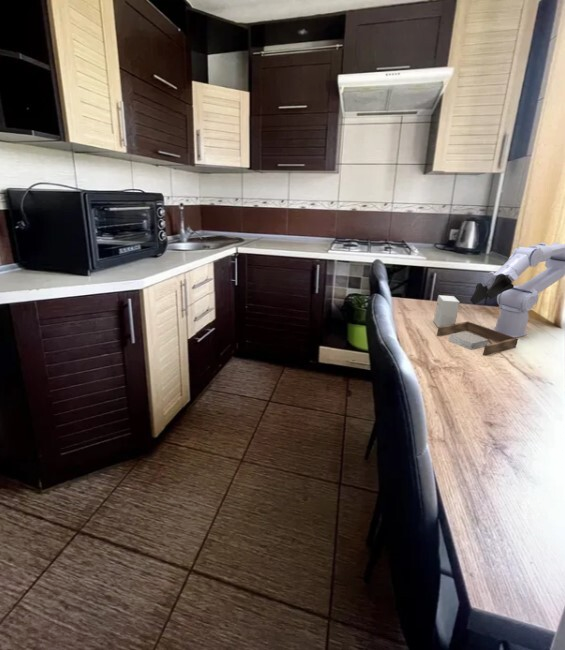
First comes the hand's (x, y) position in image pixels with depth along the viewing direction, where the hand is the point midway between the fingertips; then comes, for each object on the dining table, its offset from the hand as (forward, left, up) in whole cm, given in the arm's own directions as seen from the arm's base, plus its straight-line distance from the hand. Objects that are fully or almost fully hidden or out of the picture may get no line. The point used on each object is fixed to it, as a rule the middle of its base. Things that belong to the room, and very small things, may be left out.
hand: (480, 299), depth 108 cm
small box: (-6, -15, -15) cm, 22 cm away
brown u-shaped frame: (-2, 0, -15) cm, 15 cm away
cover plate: (+1, 0, -15) cm, 15 cm away
